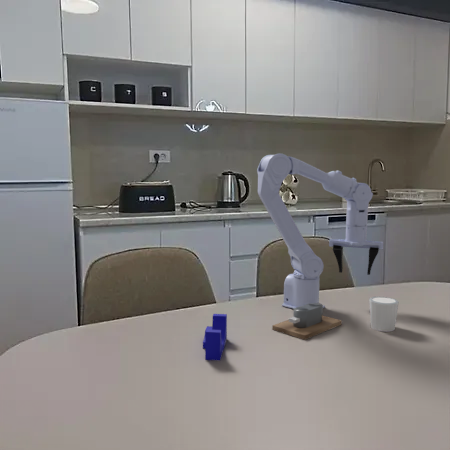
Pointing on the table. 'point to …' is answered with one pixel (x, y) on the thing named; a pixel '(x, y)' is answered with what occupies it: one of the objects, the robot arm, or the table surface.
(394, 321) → the white cup
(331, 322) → the walnut board
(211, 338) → the cable clip
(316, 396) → the table surface
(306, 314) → the connector plug
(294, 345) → the table surface
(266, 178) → the robot arm
